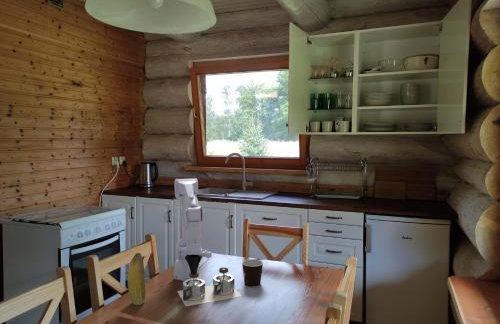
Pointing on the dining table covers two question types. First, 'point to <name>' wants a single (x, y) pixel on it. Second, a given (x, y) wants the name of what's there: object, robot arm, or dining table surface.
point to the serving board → (209, 296)
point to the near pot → (193, 290)
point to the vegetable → (136, 280)
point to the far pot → (223, 285)
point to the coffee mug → (252, 272)
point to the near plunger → (194, 283)
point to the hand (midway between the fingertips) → (194, 273)
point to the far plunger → (223, 270)
